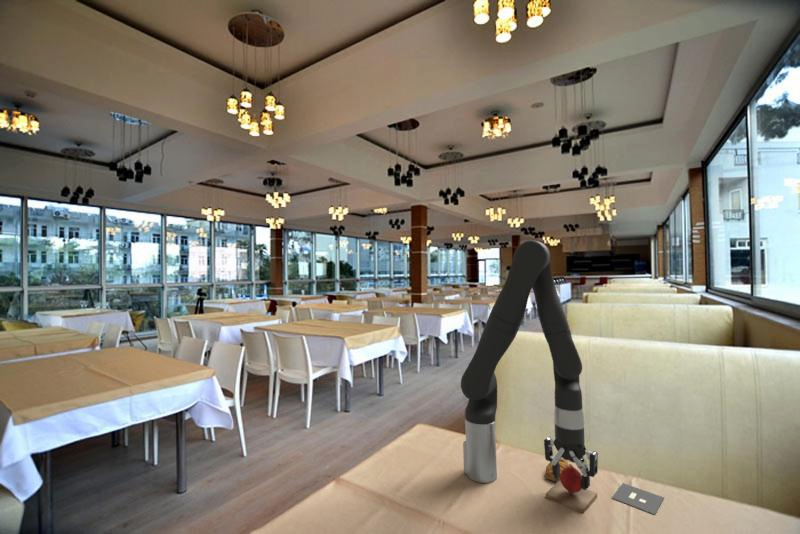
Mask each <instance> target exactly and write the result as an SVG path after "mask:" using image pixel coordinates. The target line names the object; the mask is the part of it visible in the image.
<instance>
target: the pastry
mask: <svg viewBox="0 0 800 534" xmlns="http://www.w3.org/2000/svg"><path fill="white" fill-rule="evenodd" d="M559 464H560V474H561V472H562V471H563V469H564V468H566V467H569V464H570V463H569V462H568V460H565V459H563V458H561V460H560V461H559ZM545 478H546V479H547V480H550V481H553V482H556V483H557V482H558V481H559V480H560V477H559V478H558V479H556V478H554V476H553V471H552V463H551V462H550V461H549V463H548V464H547V465H546V467H545Z"/></svg>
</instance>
